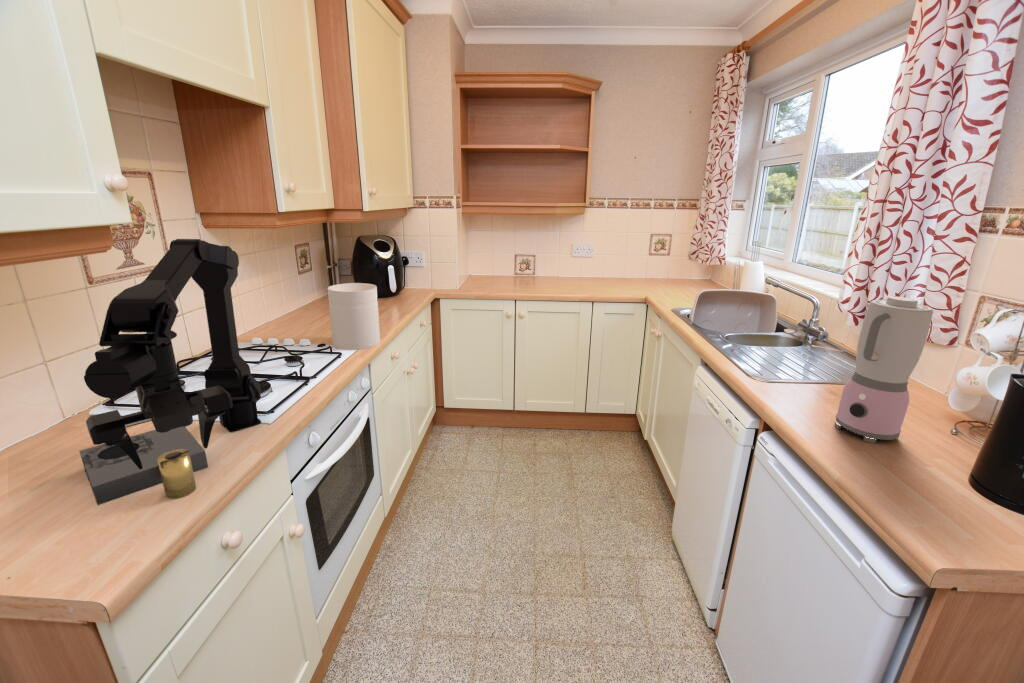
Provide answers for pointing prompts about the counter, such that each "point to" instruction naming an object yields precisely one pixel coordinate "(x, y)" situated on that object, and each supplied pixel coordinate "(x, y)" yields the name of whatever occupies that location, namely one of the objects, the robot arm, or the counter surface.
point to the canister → (354, 315)
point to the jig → (120, 474)
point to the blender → (884, 368)
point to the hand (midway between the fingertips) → (174, 457)
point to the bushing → (177, 473)
